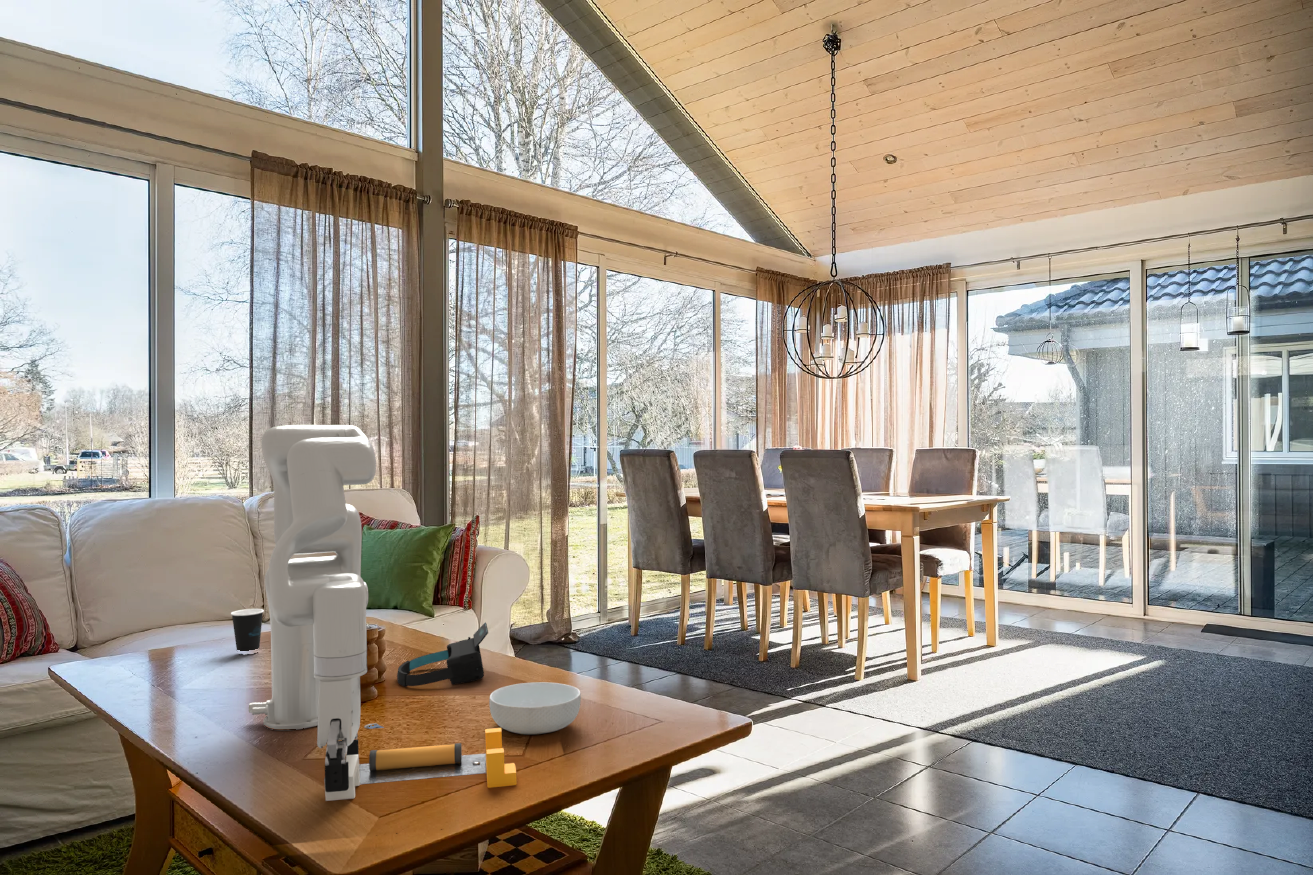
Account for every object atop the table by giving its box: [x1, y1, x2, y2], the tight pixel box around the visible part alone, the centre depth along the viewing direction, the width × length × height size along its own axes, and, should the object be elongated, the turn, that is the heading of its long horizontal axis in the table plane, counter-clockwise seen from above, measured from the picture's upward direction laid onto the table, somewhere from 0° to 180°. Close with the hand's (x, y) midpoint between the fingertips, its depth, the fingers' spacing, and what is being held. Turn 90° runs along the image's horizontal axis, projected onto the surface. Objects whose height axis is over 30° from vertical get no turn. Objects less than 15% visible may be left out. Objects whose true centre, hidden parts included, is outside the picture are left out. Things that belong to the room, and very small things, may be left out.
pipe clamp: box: [484, 727, 518, 789], centre depth 139 cm, size 12×4×6 cm, turn 12°
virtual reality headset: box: [396, 621, 489, 688], centre depth 203 cm, size 19×22×10 cm
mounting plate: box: [359, 753, 487, 785], centre depth 141 cm, size 22×9×1 cm, turn 101°
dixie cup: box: [230, 608, 265, 651], centre depth 232 cm, size 8×8×11 cm
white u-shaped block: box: [323, 754, 361, 802], centre depth 132 cm, size 4×6×5 cm
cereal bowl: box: [489, 681, 582, 735], centre depth 162 cm, size 17×17×7 cm
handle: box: [368, 742, 463, 771], centre depth 142 cm, size 14×3×3 cm
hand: (342, 778), depth 132 cm, fingers open, 9 cm apart
